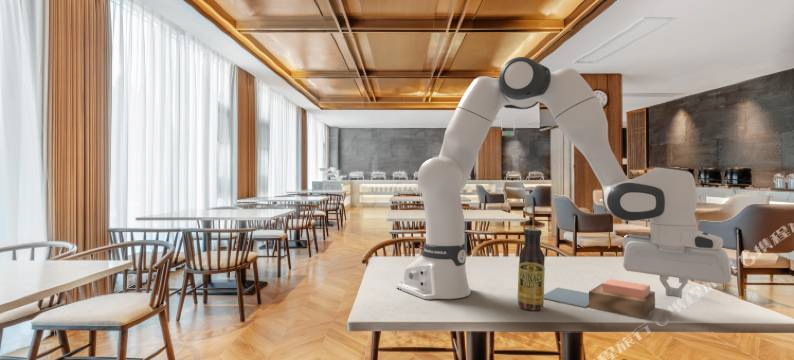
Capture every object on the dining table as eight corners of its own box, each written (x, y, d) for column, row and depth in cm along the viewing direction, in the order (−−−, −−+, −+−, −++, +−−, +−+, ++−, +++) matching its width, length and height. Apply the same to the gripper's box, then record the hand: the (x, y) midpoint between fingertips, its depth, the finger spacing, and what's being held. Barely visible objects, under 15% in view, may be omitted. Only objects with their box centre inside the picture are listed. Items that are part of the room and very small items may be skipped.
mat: (539, 298, 104) (539, 297, 104) (557, 288, 113) (557, 287, 113) (585, 308, 95) (585, 306, 95) (601, 296, 105) (601, 295, 105)
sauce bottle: (516, 310, 94) (516, 230, 95) (518, 302, 100) (517, 227, 100) (545, 313, 92) (544, 231, 92) (545, 305, 98) (544, 228, 98)
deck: (589, 307, 96) (588, 291, 96) (602, 297, 104) (602, 283, 104) (644, 319, 87) (644, 301, 87) (654, 307, 95) (654, 291, 95)
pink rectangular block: (602, 291, 96) (602, 283, 96) (609, 286, 100) (609, 279, 100) (644, 298, 90) (644, 290, 90) (650, 293, 94) (650, 285, 94)
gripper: (618, 233, 93) (619, 290, 93) (729, 242, 79) (730, 309, 79) (625, 231, 98) (626, 285, 98) (731, 239, 83) (732, 302, 83)
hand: (673, 296), depth 88 cm, fingers closed
